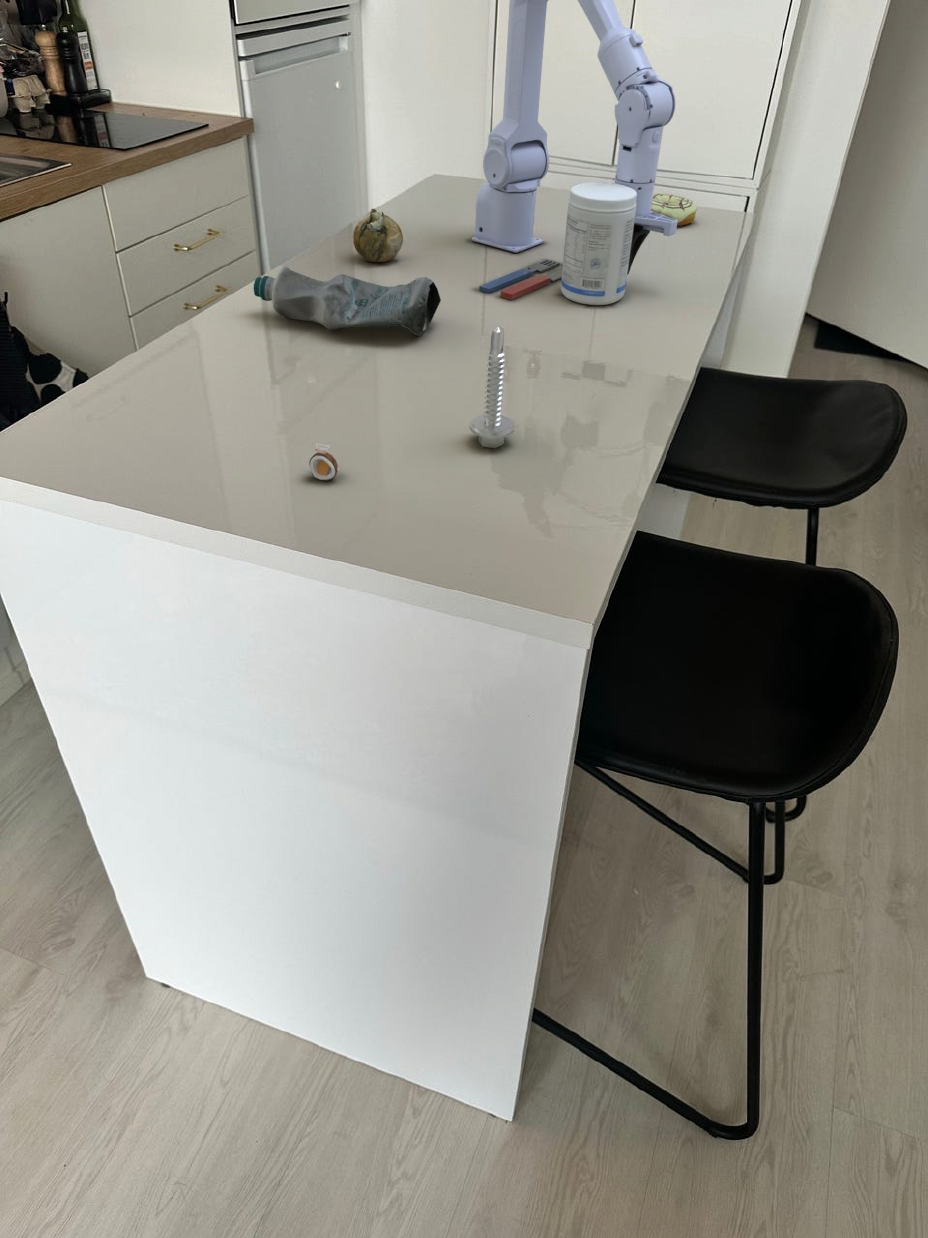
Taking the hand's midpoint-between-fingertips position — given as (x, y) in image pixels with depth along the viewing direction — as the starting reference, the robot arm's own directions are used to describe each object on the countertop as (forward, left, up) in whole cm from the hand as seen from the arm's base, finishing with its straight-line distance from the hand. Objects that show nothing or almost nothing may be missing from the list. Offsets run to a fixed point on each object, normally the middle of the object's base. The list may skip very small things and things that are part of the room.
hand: (621, 274), depth 141 cm
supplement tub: (-1, -8, -2) cm, 8 cm away
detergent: (-19, -41, -2) cm, 45 cm away
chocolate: (+8, -72, -2) cm, 72 cm away
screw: (+16, -55, -2) cm, 57 cm away
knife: (-9, -7, -1) cm, 12 cm away
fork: (-13, -9, -2) cm, 16 cm away
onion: (-34, -18, -2) cm, 38 cm away
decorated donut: (-12, +36, -2) cm, 39 cm away
